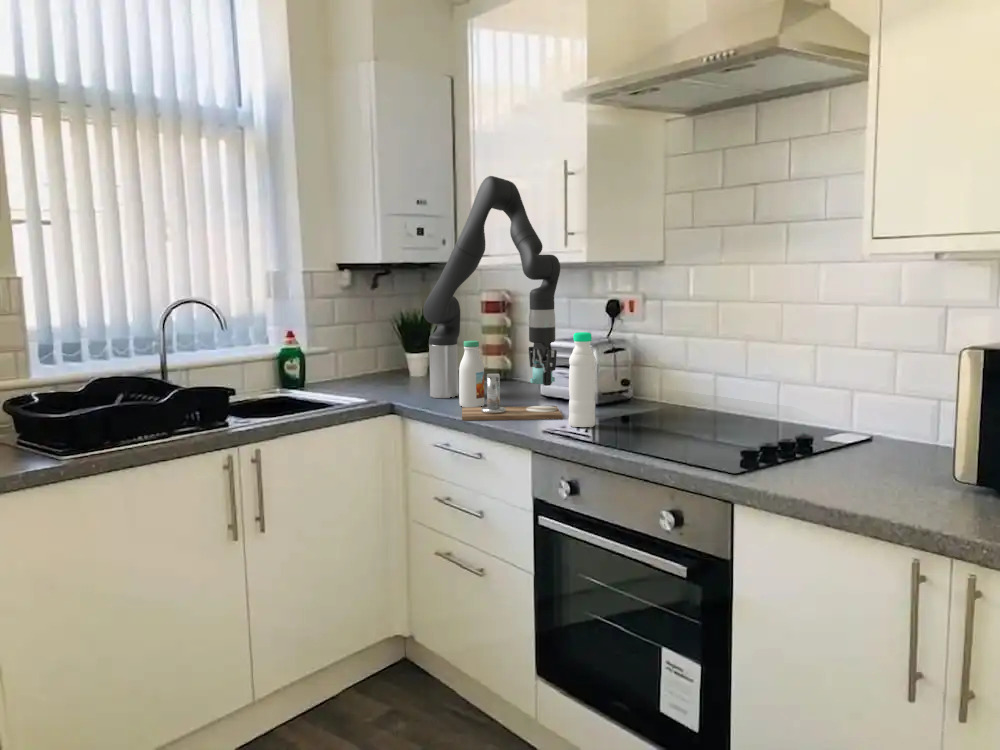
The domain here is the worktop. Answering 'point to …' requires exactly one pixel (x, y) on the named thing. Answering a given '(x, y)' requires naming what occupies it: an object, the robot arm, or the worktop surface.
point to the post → (493, 396)
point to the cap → (539, 375)
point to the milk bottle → (471, 377)
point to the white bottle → (582, 382)
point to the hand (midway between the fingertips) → (542, 383)
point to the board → (513, 413)
